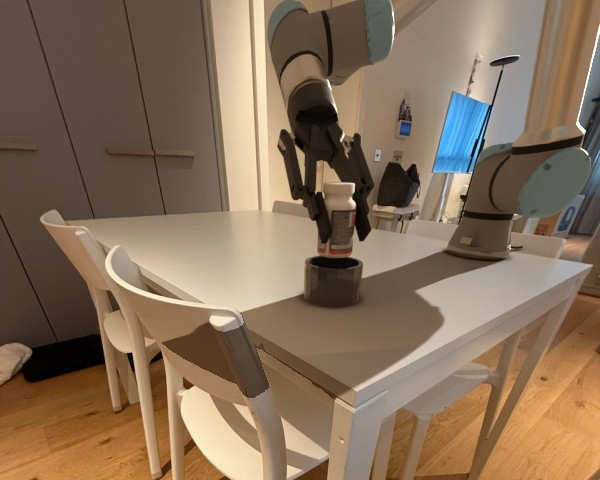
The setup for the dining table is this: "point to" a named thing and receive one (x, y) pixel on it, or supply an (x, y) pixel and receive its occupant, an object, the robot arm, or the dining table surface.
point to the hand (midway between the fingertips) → (346, 236)
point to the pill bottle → (339, 219)
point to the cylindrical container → (332, 281)
